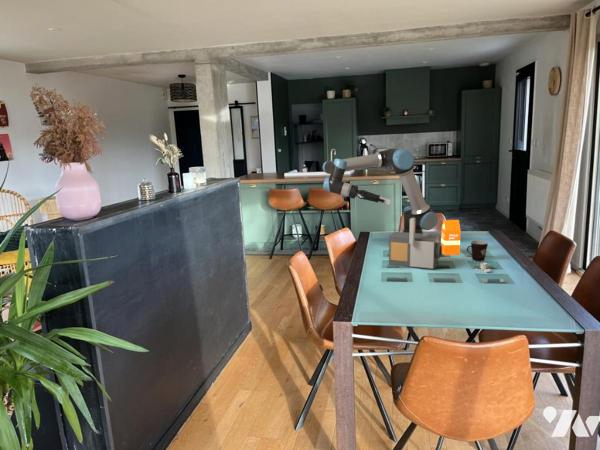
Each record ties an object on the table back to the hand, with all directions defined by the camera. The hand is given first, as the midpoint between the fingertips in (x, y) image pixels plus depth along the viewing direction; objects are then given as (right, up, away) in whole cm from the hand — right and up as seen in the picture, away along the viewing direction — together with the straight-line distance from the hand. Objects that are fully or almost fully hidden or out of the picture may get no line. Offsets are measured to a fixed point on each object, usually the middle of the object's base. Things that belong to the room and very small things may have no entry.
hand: (390, 202), depth 254 cm
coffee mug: (+47, -32, -2) cm, 57 cm away
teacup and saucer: (+42, -37, -22) cm, 60 cm away
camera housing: (+12, -34, -7) cm, 37 cm away
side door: (+13, -35, -16) cm, 41 cm away
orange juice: (+38, -29, +13) cm, 49 cm away
